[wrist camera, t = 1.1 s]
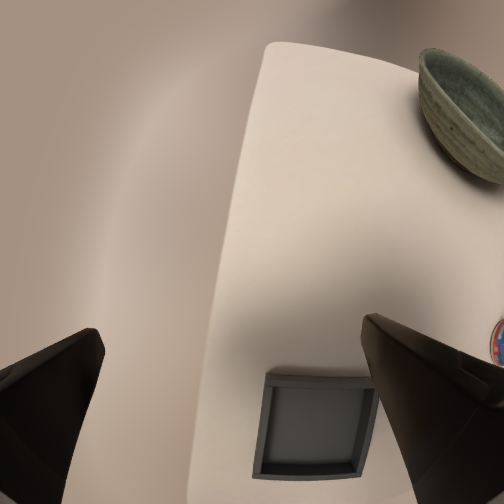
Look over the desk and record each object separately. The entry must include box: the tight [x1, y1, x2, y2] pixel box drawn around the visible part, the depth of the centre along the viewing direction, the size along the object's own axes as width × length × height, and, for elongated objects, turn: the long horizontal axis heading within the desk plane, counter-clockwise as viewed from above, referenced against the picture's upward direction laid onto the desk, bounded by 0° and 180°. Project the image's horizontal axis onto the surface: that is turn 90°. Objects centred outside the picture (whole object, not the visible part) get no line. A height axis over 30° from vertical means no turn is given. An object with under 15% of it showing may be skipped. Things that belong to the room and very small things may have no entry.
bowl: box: [418, 48, 504, 185], centre depth 22 cm, size 21×21×10 cm
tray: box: [252, 373, 379, 481], centre depth 18 cm, size 9×9×3 cm
